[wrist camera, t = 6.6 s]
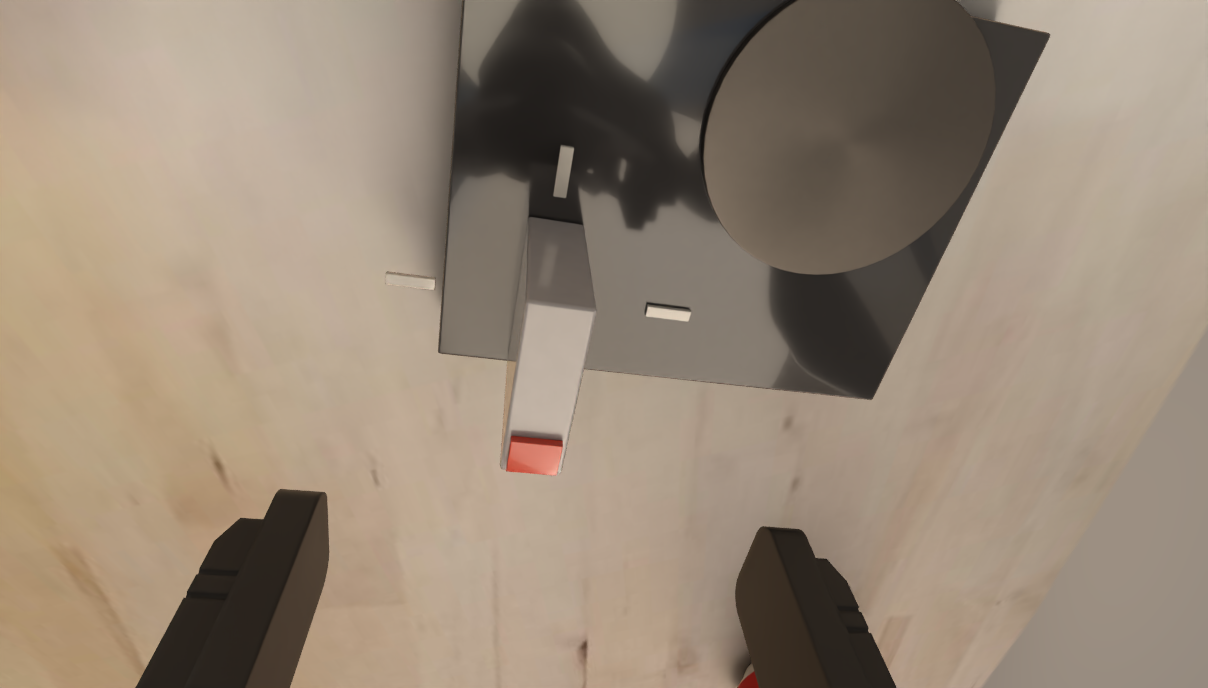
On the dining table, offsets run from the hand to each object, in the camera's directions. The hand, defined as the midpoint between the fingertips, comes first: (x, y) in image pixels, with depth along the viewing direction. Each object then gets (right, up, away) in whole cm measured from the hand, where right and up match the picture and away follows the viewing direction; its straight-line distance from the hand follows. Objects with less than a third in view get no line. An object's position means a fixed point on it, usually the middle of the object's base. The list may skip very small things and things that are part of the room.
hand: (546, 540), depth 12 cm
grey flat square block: (-1, +5, +8) cm, 9 cm away
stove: (+3, +8, +9) cm, 13 cm away
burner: (+8, +9, +6) cm, 13 cm away
